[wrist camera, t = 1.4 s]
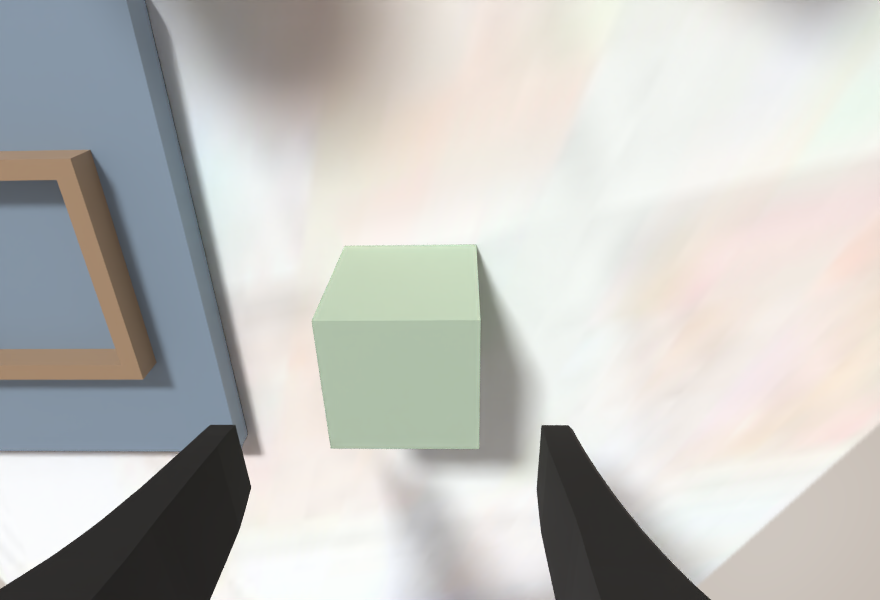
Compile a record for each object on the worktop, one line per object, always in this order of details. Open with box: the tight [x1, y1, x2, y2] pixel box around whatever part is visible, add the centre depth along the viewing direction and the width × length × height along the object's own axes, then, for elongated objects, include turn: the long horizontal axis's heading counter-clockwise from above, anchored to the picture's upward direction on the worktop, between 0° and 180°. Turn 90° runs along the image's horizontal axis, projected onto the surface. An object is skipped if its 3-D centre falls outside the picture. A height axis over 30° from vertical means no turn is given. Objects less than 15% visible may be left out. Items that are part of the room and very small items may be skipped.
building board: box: [0, 0, 248, 451], centre depth 19 cm, size 16×12×2 cm
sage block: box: [312, 244, 481, 449], centre depth 18 cm, size 4×4×5 cm
